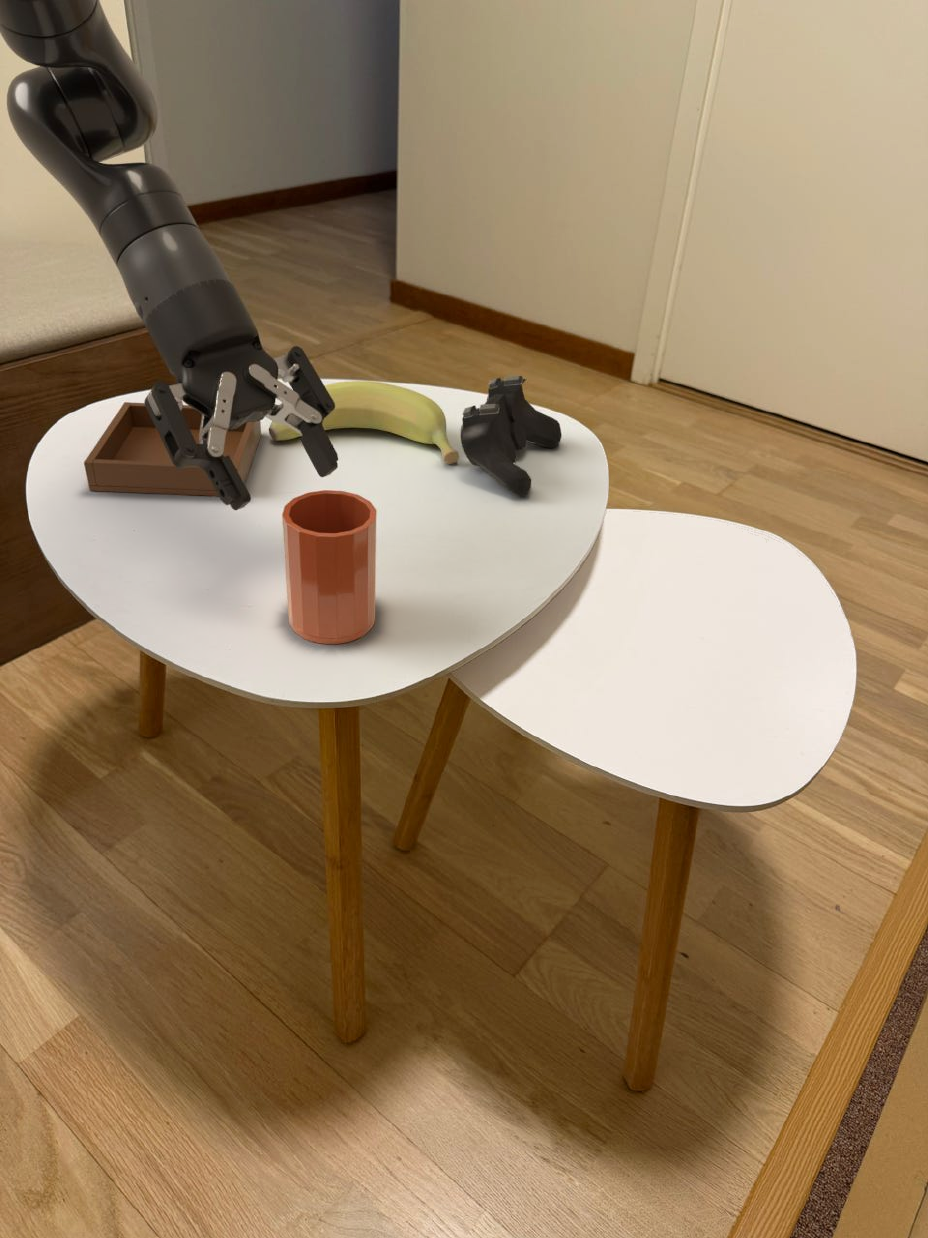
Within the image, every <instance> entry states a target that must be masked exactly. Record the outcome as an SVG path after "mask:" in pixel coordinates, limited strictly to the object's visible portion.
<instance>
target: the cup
mask: <svg viewBox="0 0 928 1238" xmlns="http://www.w3.org/2000/svg"><path fill="white" fill-rule="evenodd" d="M377 513H378V512H377V509H376V507H375V506H374V504H373V503H372V502H371V501H370V500H368V499H366V498H365V497H363V496H361V495H359V494H357V493H352V492H348V491H344V490H329V489H328V490H327V489H325V490H324V489H323V490H317V491H311V492H310V491H309V492H306V493H303V494H301V495H298V496H295V497H293V498H292V499H291V500H289V502H287V504H285V505H284V507H283V511H282V515H281V516H282V517H281V518H282V534H283V549H284V551H283V552H284V569H285V583H286V585H285V586H286V600H287V601H286V603H287V616H288V622H289V626H290V627H291V629H292V631H294V632H295V633H296V634H297V635H298V636H299V637H301V638H303V639H305V640H306V641H310V642H312V643H317V644H321V645H323V644H324V645H337V644H339V645H340V644H346V643H350V642H352V641H356V640H358V639H360V638H362V637H363V636H365V635H366V634H367V633H368V632H370V630H372V629H373V626H374V624H375V622H376V600H377V599H376V595H377V594H376V593H377V592H376V587H377V518H378V517H377Z"/></svg>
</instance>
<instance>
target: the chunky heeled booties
mask: <svg viewBox="0 0 928 1238" xmlns="http://www.w3.org/2000/svg"><path fill="white" fill-rule="evenodd" d="M526 380H527V378H523V376H522V375H511V376H510V375H508V376H504V380H502V379H501V377H498V378H494V379H493V378H492V379H490V380H489V383H488V389H487V391H488V395H487V397H486V401H485V403H483V404H480V405H479V407H478V408H477V406H476V405H475V404H474V405H471V406H468V407H465V408H463V412H462V418H461V421H462V424H461V427H460V443H461V446H462V450H463V453H464V455H465V458H466V459H467V460H468V462H469V463H470V464H471V465H473V466H475V467H478V468H479V469H481V470H482V471H483V472H484V473H485V474H487V475H488V476H489V477H491V478H492V479H493V480H495V481H496V482H497V483H499V484H500V486H503V487H504V488H505V489H506V490H508V491H509V492H510V493H512V494H514V495H516V496H517V497H519V498H522V497H526V496H527V495H528V494H529V492H530V490H531V489H532V478H531V476H530V475H529V473H528V472H527V471H526V470H525V469H523V468H522V467H520V466H518V465H517V464H515V463H516V461H517V451H519V450H523V449H525V448H527V444H528V443H532V444H535V445H538V446H541V447H545V448H548V449H555V448H557V447H559V444H560V443H561V440H562V429H561V425H560V423H559V421H558V420H557V419H555V418H554V417H552V416H549V415H547V414H545V413H543V412H540V411H538V410H536V409H535V408H534V407H533V406H532V405H531V404H530V403H529V402H528V400H526V398H525V394H524V391H523V390H524V389H523V384H524V383H525V382H526Z"/></svg>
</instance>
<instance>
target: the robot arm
mask: <svg viewBox="0 0 928 1238" xmlns="http://www.w3.org/2000/svg"><path fill="white" fill-rule="evenodd" d="M0 36H1V37H2V39H3V40H4V42H5V43H6V45H7V46H8V48H9V49H10V50H11V51H12V52H13V53H14V54H15V55H16V56H17V57H19V58H20V59H22V60H24V61H25V62H27V63H29V64H31V65H35V66H37V67H34V68H31V69H28V70H25V71H23V72H21V73H19V74H17V75H16V76H15V77H14V78H13V79H12V80H11V82H10V84H9V86H8V89H7V93H6V110H7V114H8V117H9V121H10V123H11V125H12V128H13V129H14V131H15V133H16V135H17V137H18V139H19V140H20V141H21V143H22V144H23V146H24V147H25V148H26V149H27V151H29V153H30V154H31V155H32V156H33V158H34V159H35V160H36V161H37V162H38V163H39V164H40V165H41V166H42V167H43V168H44V169H45V170H46V171H47V172H48V173H49V174H50V175H51V176H52V177H53V178H54V179H55V180H56V181H57V182H58V183H59V184H60V185H61V186H62V187H63V188H64V189H65V190H66V192H67V193H68V194H69V195H70V196H71V197H72V198H73V199H74V201H75V202H76V203H77V204H78V206H79V207H80V208H81V209H82V210H83V212H84V213H85V215H86V216H87V217H88V219H89V220H90V222H91V224H92V225H93V227H94V228H95V230H96V231H97V233H98V235H99V237H100V239H101V241H102V242H103V245H104V246H105V247H106V250H107V252H108V254H109V255H110V257H111V259H112V261H113V263H114V264H115V267H116V268H117V270H118V273H119V274H120V276H121V278H122V281H123V284H124V286H125V289H126V292H127V294H128V296H129V299H130V301H131V303H132V305H133V306H134V308H135V311H136V314H137V315H138V317H139V318H140V319H141V321H142V323H143V325H144V326H145V329H146V330H147V333H148V334H149V336H150V338H151V339H152V341H153V343H154V345H155V347H156V349H157V350H158V352H159V355H160V356H161V358H162V360H163V361H164V364H165V365H166V367H167V369H168V371H169V373H170V374H171V375H172V376H173V377H175V379H176V382H177V383H175V384H171V385H169V384H168V383H166V382H164V381H161V380H159V381H157V382H155V383H154V385H153V386H152V388H151V389H150V391H149V392H148V394H147V396H146V397H145V399H144V400H143V401H144V402H143V403H145V406H146V408H147V410H148V412H149V414H150V416H151V418H152V421H153V423H154V425H155V427H156V429H157V431H158V433H159V435H160V437H161V439H162V441H163V444H164V446H165V448H166V450H167V452H168V454H169V456H170V458H171V460H172V462H173V464H174V465H175V466H176V467H177V468H180V469H183V468H185V467H187V466H197V467H200V468H202V469H203V470H204V471H205V472H206V473H207V475H208V477H209V479H210V481H211V482H212V484H213V486H214V488H215V490H216V492H217V493H218V495H219V496H218V497H219V499H220V501H221V502H222V503H223V504H224V505H226V506H230V507H231V509H232V510H234V511H239V510H241V509H243V508H245V507H246V506H247V505H248V504H249V503H250V502H251V500H252V496H251V493H250V491H249V490H248V488H247V486H246V484H244V483H243V481H242V479H241V477H240V475H239V473H238V471H237V470H236V468H235V466H234V464H233V462H232V460H231V459H230V457H229V455H228V456H225V457H224V456H223V452H224V445H225V438H226V432H227V430H228V427H229V429H230V430H231V429H235V428H238V427H239V426H241V425H242V424H243V423H245V422H257V421H260V422H261V421H263V420H264V419H265V418H267V419H268V420H270V421H271V422H272V421H273V422H275V423H277V424H284V425H286V426H288V427H289V428H291V429H292V430H294V431H295V432H297V433H299V434H300V435H302V436H300V438H299V441H300V443H301V445H302V447H303V449H304V451H305V452H306V454H307V456H308V458H309V459H310V461H311V464H312V465H313V468H314V469H315V471H316V473H317V474H318V477H320V478H324V477H327V476H330V475H332V473H334V471H336V470H337V469H338V467H339V464H338V461H339V455H338V452H337V450H336V448H335V447H334V445H333V443H332V441H331V439H330V437H329V435H328V434H327V432H326V430H324V428H323V425H322V422H323V420H324V418H325V417H326V416H327V415H329V414H330V413H331V412H332V411H333V410H334V409H335V403H334V401H333V399H332V398H331V396H330V394H329V393H328V391H327V389H326V388H325V386H324V385H325V384H324V383H323V381H322V379H321V377H320V376H319V374H318V373H317V371H316V369H315V368H314V365H313V364H312V363H311V361H310V359H309V357H308V355H307V354H306V353H305V351H304V349H303V348H302V347H300V346H298V345H294V346H292V347H291V348H290V350H288V352H287V353H285V354H282V355H279V356H276V357H272V356H271V355H270V354H269V353H268V352H267V351H266V350H265V349H264V347H263V346H262V342H261V337H260V333H259V331H258V328H257V327H256V325H255V322H254V320H253V319H252V316H251V315H250V314H249V311H248V310H247V308H246V306H245V303H244V302H243V300H242V299H241V297H240V294H239V293H238V290H237V289H236V287H235V285H234V283H233V282H232V280H231V278H230V276H229V274H228V272H227V270H226V269H225V266H224V265H223V263H222V261H221V260H220V258H219V256H218V255H217V253H216V251H215V250H214V248H213V247H212V246H211V245H210V243H209V242H208V240H207V239H206V237H205V236H204V234H203V233H202V231H201V229H200V227H199V225H198V224H197V221H196V220H195V217H194V216H193V214H192V213H191V211H190V208H189V207H188V205H187V202H186V201H185V199H184V198H183V195H182V193H181V192H180V190H179V188H178V187H177V184H176V183H175V181H174V180H173V178H172V177H171V175H170V174H169V173H168V172H167V171H166V170H165V169H164V168H163V167H161V166H160V165H156V164H154V163H151V162H143V161H142V162H140V161H139V162H124V163H104V162H106V161H108V160H110V159H113V158H115V157H118V156H121V155H124V154H126V153H130V152H132V151H135V150H137V149H139V148H142V147H144V146H145V145H147V144H148V143H149V142H150V141H151V140H152V138H153V137H154V134H155V132H156V129H157V124H158V107H157V103H156V101H155V97H154V95H153V93H152V90H151V88H150V86H149V85H148V83H147V81H146V79H145V77H144V76H143V75H142V73H141V72H140V70H139V68H138V66H136V64H135V62H134V61H133V60H132V58H131V57H130V55H129V54H128V53H127V51H126V50H125V48H124V46H123V45H122V43H121V42H120V40H119V39H118V37H117V35H116V34H115V32H114V30H113V28H112V26H111V24H110V22H109V20H108V17H107V16H106V14H105V11H104V9H103V6H102V4H101V1H100V0H0ZM279 376H281V381H282V382H281V381H279V380H278V378H279ZM285 383H288V384H289V386H290V387H289V386H287V385H286V384H285ZM276 399H277V400H278V401H279V402H281V403H280V404H276V401H277V400H276ZM184 404H185V405H189V406H190V407H192V408H194V409H195V410H197V411H198V412H200V413H201V414H202V419H201V425H200V432H199V440H200V443H199V444H196V441H195V439H194V437H193V435H192V433H191V431H190V429H189V427H188V425H187V423H186V420H185V418H184V416H183V414H182V412H181V410H182V408H183V405H184Z"/></svg>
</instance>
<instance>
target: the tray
mask: <svg viewBox="0 0 928 1238" xmlns="http://www.w3.org/2000/svg"><path fill="white" fill-rule="evenodd" d="M181 412H182V414H183V416H184V418H185V420H186V423H187V425H188V427H189V429H190V431H191V433H192V435H193V437H194V439H195V441H196V444H199V443H200V440H199V432H200V425H201V419H202V414H201V413H200V412H198V411H197V410H195V409H194V408H192V407H190V406H189V405H187V404H183V408H182V410H181ZM261 436H262V423H261V420H260V421H257V422H245V423H243V424H242V425H241V426H239V427H238V428H235V429H231V430H230V429H229V427H228V430H227V432H226V438H225V445H224V452H223V456H224V457H225V456H228V455H229V457H230V459H231V460H232V462H233V464H234V466H235V468H236V470H237V471H238V473H239V475H240V477H241V479H242V481H243V483H244V484H245V483H246V480H247V478H248V475H249V472H250V468H251V466H252V463H253V460H254V457H255V455H256V451H257V448H258V445H259V442H260V439H261ZM83 465H84V470H85V475H86V480H87V483H88V489H89V491H90V492H112V493H113V492H114V493H137V494H159V495H160V494H161V495H184V496H209V497H219V495H218V493H217V492H216V490H215V488H214V486H213V484H212V482H211V481H210V479H209V477H208V475H207V473H206V472H205V471H204V470H203V469H202V468H200V467H197V466H187V467H185V468H183V469H180V468H177V467H176V466H175V465H174V464H173V462H172V460H171V458H170V456H169V454H168V452H167V450H166V448H165V446H164V444H163V441H162V439H161V437H160V435H159V433H158V431H157V429H156V427H155V425H154V423H153V421H152V418H151V416H150V414H149V412H148V410H147V408H146V406H145V403H144V402H129V401H125V402H123V403H122V405H121V407H120V408H119V409H118V411H117V413H116V414H115V416H114V417H113V418H112V420H111V421H110V422H109V424H108V426H107V427H106V429H105V430H104V432H103V434H101V436H100V438H99V439H98V440H97V443H96V444H95V445H94V446H93V448H92V449H91V451H90V452H89V454H88V455H87V457H86V459H85V460H84V462H83ZM245 485H246V484H245Z"/></svg>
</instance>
